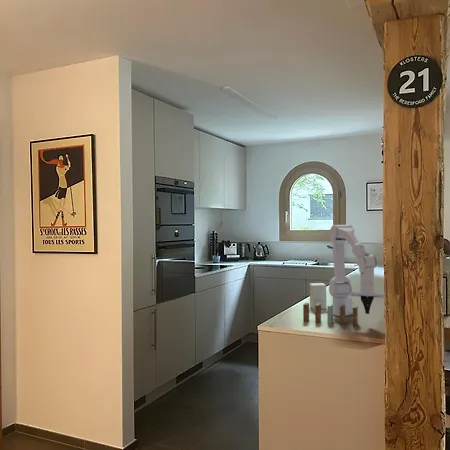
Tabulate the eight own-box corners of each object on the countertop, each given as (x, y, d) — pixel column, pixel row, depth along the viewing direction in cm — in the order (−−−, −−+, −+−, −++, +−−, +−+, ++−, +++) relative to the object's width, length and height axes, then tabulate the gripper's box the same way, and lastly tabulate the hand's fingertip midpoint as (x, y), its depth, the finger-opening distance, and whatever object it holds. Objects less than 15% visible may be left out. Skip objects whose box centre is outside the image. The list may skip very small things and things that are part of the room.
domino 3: (327, 323, 210) (327, 306, 209) (329, 321, 214) (329, 304, 214) (331, 324, 209) (330, 306, 209) (333, 321, 213) (332, 304, 213)
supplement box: (323, 306, 249) (323, 282, 248) (326, 309, 241) (326, 284, 241) (309, 306, 248) (309, 283, 248) (312, 309, 241) (312, 285, 241)
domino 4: (339, 324, 207) (339, 306, 207) (341, 322, 212) (341, 304, 212) (343, 325, 207) (343, 307, 207) (345, 322, 211) (345, 305, 211)
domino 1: (303, 321, 214) (303, 304, 214) (305, 319, 218) (305, 302, 218) (306, 322, 213) (306, 304, 213) (309, 319, 218) (309, 302, 218)
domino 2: (315, 322, 212) (315, 305, 212) (317, 320, 216) (317, 303, 216) (318, 323, 211) (318, 305, 211) (321, 320, 216) (320, 303, 215)
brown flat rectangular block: (352, 325, 205) (352, 307, 205) (354, 323, 210) (354, 305, 210) (356, 326, 205) (356, 307, 204) (357, 323, 209) (357, 305, 209)
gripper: (349, 283, 204) (349, 314, 204) (383, 284, 198) (384, 316, 199) (351, 280, 210) (351, 310, 211) (385, 282, 205) (385, 313, 205)
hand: (367, 313), depth 205 cm, fingers closed
